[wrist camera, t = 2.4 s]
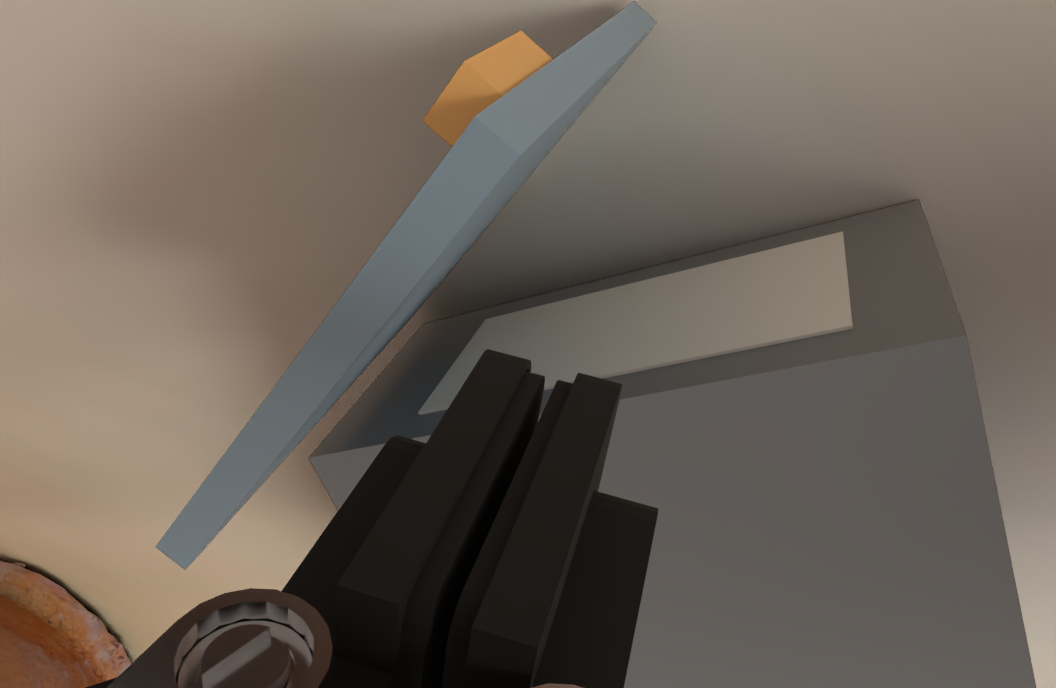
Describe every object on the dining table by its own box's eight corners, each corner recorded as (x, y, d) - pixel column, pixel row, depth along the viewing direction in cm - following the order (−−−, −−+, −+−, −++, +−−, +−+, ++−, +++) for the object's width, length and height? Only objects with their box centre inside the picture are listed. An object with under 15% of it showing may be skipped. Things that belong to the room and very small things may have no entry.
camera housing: (918, 196, 23) (965, 331, 16) (990, 542, 27) (1051, 763, 20) (366, 336, 30) (240, 467, 23) (492, 589, 34) (416, 761, 28)
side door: (611, -21, 22) (429, 76, 11) (657, 22, 22) (519, 155, 11) (377, 284, 28) (124, 523, 18) (413, 314, 28) (185, 569, 18)
